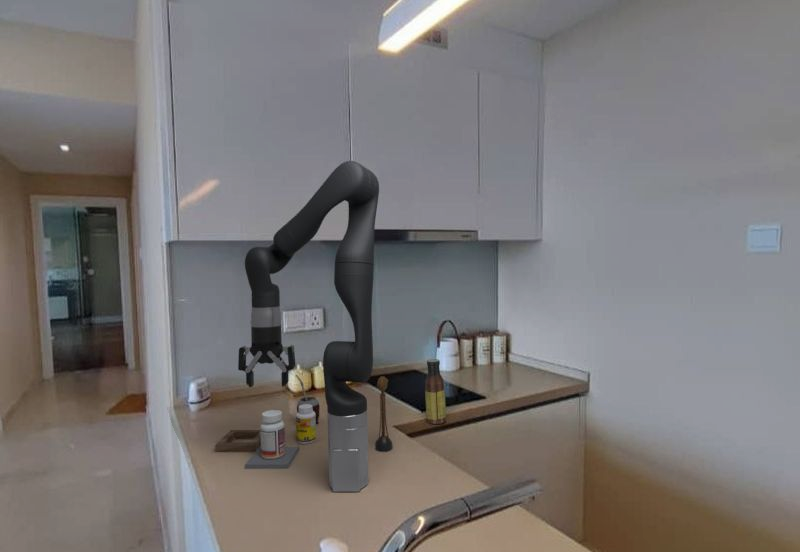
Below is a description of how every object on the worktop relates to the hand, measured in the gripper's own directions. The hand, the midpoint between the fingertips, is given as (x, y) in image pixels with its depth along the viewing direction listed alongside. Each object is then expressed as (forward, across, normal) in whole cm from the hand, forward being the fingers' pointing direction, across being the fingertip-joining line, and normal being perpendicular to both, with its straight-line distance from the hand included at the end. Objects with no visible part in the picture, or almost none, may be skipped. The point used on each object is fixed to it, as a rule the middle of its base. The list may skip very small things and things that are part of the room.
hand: (267, 386), depth 121 cm
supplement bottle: (+20, -7, -13) cm, 25 cm away
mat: (+20, -1, -1) cm, 20 cm away
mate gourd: (+20, -5, -27) cm, 34 cm away
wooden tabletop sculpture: (+20, -30, -7) cm, 37 cm away
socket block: (+20, +11, -12) cm, 25 cm away
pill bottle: (+19, -1, -1) cm, 19 cm away
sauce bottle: (+19, -46, -26) cm, 56 cm away
